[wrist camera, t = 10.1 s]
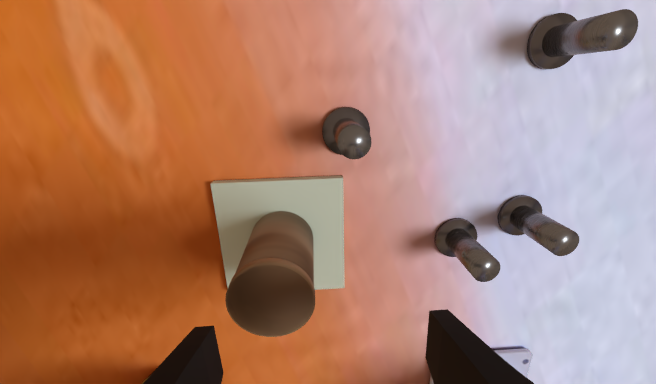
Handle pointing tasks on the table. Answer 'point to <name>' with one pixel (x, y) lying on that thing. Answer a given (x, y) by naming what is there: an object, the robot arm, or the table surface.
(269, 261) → the walnut peg
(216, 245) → the table surface
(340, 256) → the pad
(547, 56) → the slalom posts
